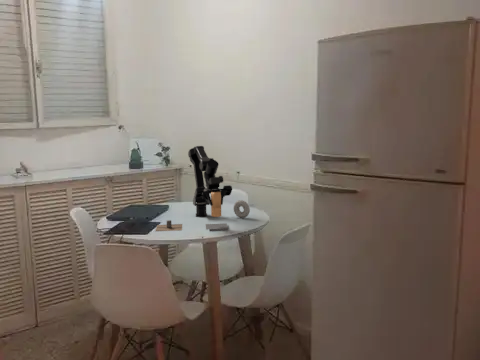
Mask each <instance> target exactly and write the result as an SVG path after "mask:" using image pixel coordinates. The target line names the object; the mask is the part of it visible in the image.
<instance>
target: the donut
mask: <svg viewBox="0 0 480 360" xmlns="http://www.w3.org/2000/svg"><path fill="white" fill-rule="evenodd" d="M241 207H242V209H243V211H241V209H240V208H241ZM250 210H251V209H250V205H249V203H247V201H245V200H243V199H241V200H237V201H236V202H235V203H234V205H233V212H234V214H235V216H236V217H237V218H240V219H245V218H247V217H248V216H249V215H250V212H251V211H250Z"/></svg>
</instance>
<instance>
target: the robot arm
mask: <svg viewBox="0 0 480 360" xmlns="http://www.w3.org/2000/svg"><path fill="white" fill-rule="evenodd" d="M187 155H188V158H189V161H190V163H191V164H192V165H193V171H194V180H195V185H196V186H195V190H194V191H195V192H194V196H193V199H192V205H193V206H194V207H196V208H195V210H196V213H195V217H208V212H207V206H212V201H211V192H221V206H223V202H224V198H225V197H226V196H230V195H231V194H232V191H233V187H232V185H227V184H226V185H223V187H222V188H220V186H221V185H220V184H222V183H224V177H223V175H219V176H216V174H217V171H218V168H219V162H218V161H217V160H215V159H214V158H213V157H209V156H208V154H207V153H206V150H205V147H204V146H203V145H195V146H194V147H192V148H190V149H188V153H187Z"/></svg>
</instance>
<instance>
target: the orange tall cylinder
mask: <svg viewBox="0 0 480 360" xmlns="http://www.w3.org/2000/svg"><path fill="white" fill-rule="evenodd" d="M210 198H211V201H212V206H211V205H210V206H211V208H210V211H211V212H210V213H211V214H210V215H211V217H214V218H216V217H217V218H219V217H222V205H221V192H211V193H210Z"/></svg>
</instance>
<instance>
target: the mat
mask: <svg viewBox="0 0 480 360" xmlns="http://www.w3.org/2000/svg"><path fill="white" fill-rule="evenodd" d="M205 230H209V232H219V231H220V232H221V231H222V232H223V231H227V232H228V231H229V227H228V224H227V223H205Z"/></svg>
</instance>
